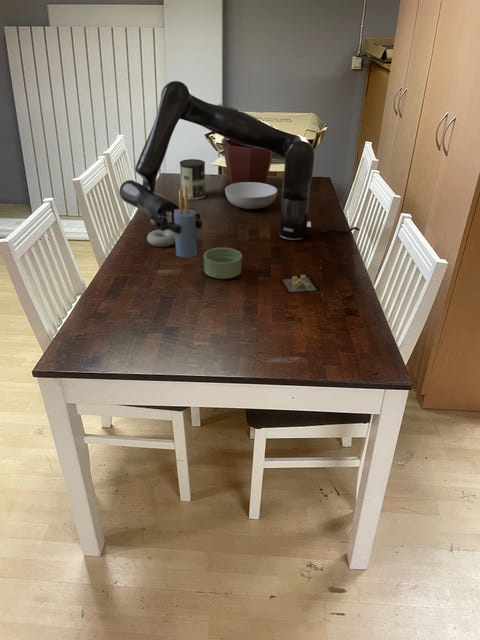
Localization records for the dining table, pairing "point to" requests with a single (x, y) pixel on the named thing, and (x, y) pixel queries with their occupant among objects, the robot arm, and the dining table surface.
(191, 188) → the coffee can
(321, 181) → the dining table surface
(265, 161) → the bucket
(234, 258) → the bowl
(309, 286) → the carved rune cylinders
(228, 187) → the serving bowl
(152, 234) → the donut
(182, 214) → the breadstick jar
